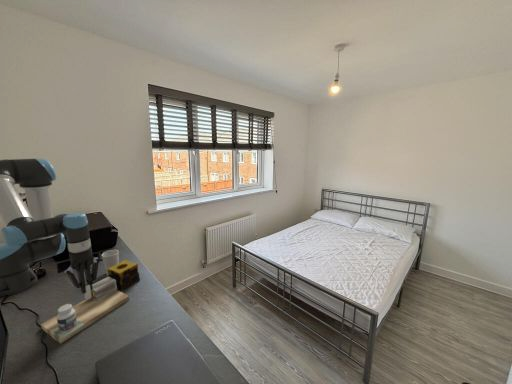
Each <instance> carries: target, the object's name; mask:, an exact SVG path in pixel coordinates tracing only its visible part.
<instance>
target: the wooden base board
mask: <svg viewBox="0 0 512 384" xmlns="http://www.w3.org/2000/svg"><path fill="white" fill-rule="evenodd" d="M92 287H93V289H92V290H91V291H93V292H94V294H95V297H93V298H90V299H86V298H85V299H84V300H82V301H80V302H79V303H77V304H75V305H72V308H73V309H74V310H75V313H76V319H77V325H76V327H75V328H74V329H72V330H70V331H68V332H65V333H61V332H60V331H59V327H58V322H57V315H55V316H53V317H51V318H49V319H47V320H45V321H44V322H42V323H40V327H41V328H40V329H41V330H43V331H44V332H45V333H46V334H48V335H49V337H50V336H51V338H52V339H54V340H55V341H56V342H58V343H59V344H60V345H61V344H63V343H64V342H66V341H67V340H69V339H70V338H72V337H73V336H75V335H76V334H78V333H80V332H82V331H83V330H84V329H86V328H88V327H90V325H92V324H94V323H95V322H97V321H99V320H100V319H102V318H103V317H105V316H106V315H108V314H109V313H111V312H112V311H114V310H116V309H117V308H119V307H120V306H121V305H123V304H124V303H126V302H128V301H129V300H130V295H129V294H126V293H124V292H123V291H121V290H119V289H117V285H116V280H115V279H113V278H111V277H109V276H107V277H105V278H104V277H103V279H101V280H98V281H97V282H95V283H93V284H92Z"/></svg>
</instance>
